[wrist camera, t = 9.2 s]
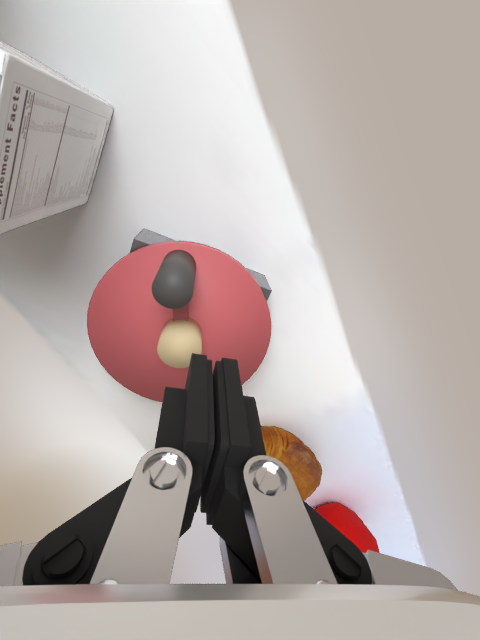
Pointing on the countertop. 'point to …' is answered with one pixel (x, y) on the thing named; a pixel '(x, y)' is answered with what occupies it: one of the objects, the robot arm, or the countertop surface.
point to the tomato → (349, 525)
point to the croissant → (293, 458)
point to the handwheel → (176, 316)
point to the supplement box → (45, 140)
